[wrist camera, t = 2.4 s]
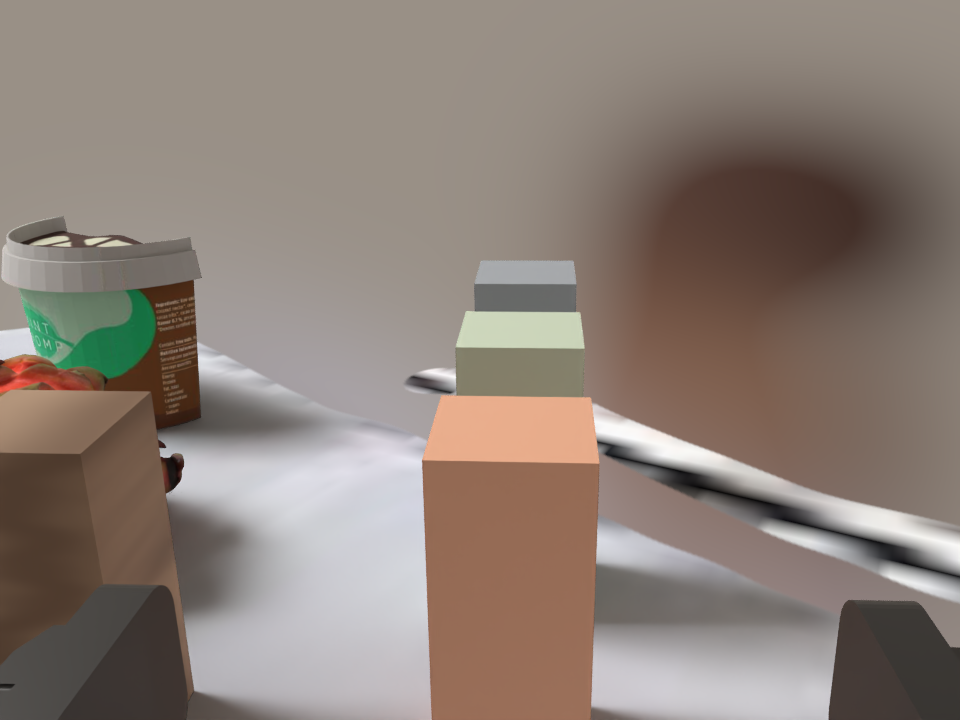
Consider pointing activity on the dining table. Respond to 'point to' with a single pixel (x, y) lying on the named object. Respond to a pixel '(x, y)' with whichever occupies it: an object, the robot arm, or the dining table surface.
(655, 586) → the dining table surface
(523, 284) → the slate block
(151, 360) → the food container
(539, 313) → the sage block
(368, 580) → the dining table surface
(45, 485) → the walnut block
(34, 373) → the dragon fruit
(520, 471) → the terracotta block
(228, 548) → the dining table surface
